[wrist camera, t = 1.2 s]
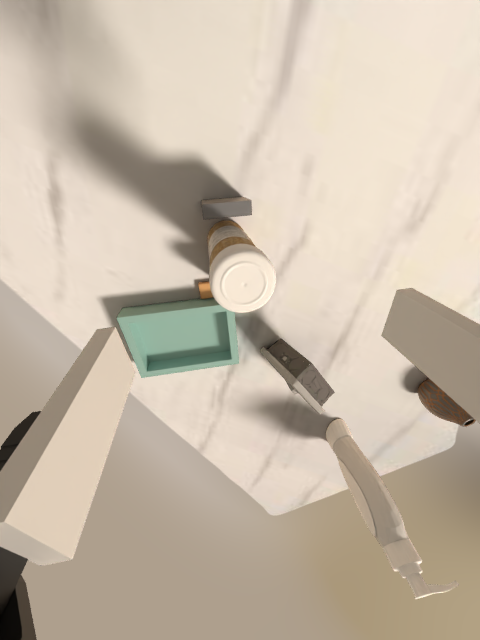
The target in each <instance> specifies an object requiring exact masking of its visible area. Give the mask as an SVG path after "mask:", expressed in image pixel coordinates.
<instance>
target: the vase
mask: <svg viewBox="0 0 480 640" xmlns="http://www.w3.org/2000/svg"><path fill="white" fill-rule="evenodd" d="M418 396H419V399H420V401H421V402H422V404H423V405H424V406H425V407H426V408H427V409H428V410H429V411H430V412H431V413H432V414H434V415H435V416H437V417H439V418H441V419H444V420H447V421H450V422H454V423H457V424H459V425H461V426H463V427H467V426H470V425H472V424H473V423H475V421H476V420H475V419H474V418H473V417H472V416H471V415H470V414H468V413H467V412H466V411H465V410H464V409H463V408H462V407H461V406H460V405H458V404H457V403H456V402H455V401H454V400H453V399H452V398H451V397H449V396H448V395H447V394H446V393H445V392H444V391H443V390H442V389H441V388H439V387H438V386H437V385H436V384H435V383H434V382H433V381H432V380H430V379H428V380H426V381H424V382H423V383H422V384H421V385H420V386H419V388H418Z"/></svg>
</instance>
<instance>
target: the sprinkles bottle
mask: <svg viewBox="0 0 480 640" xmlns="http://www.w3.org/2000/svg"><path fill="white" fill-rule="evenodd" d="M207 243H208V251H209V264H210V270H209V283H210V289H211V292H212V295H213V297H214V298H215V300H216V301H217V303H218V304H220V305H221V306H222V307H223V308H225V309H227V310H229V311H232V312H237V313H245V312H250V311H253V310H256V309H258V308H260V307H261V306H262V305H264V304H265V303H266V302H267V301H268V300H269V298H270V297H271V295H272V294H273V292H274V289H275V285H276V274H275V270H274V267H273V265H272V263H271V262H270V260H269V259H268V258H267V256H266V255H265V254H264V253H263V252H262V251H261V250H260V249H258V248H257V247H256V246H255V245H254V244H253V242H252V241H251V239H250V238H249V237H248V236H247V234H246V233H245V232H244V231H243V229H242V228H241V227H240V226H239V225H238V224H237V223H235V222H232V221H230V220H228V221H220V222H218V223H216V224H215V225H214V226H213V227H212V228H211V229H210V231H209V234H208V237H207Z"/></svg>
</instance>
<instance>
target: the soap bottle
mask: <svg viewBox="0 0 480 640" xmlns="http://www.w3.org/2000/svg"><path fill="white" fill-rule="evenodd" d="M326 438H327V441H328V443H329V445H330V446H331V448H332V450H333V451H334V452H335V454H336V456H337V458H338V461H339V465H340V468H341V471H342V473H343V476H344V478H345V481H346V483H347V485H348V487H349V489H350V492H351V494H352V496H353V498H354V500H355V502H356V505H357V507H358V509H359V511H360V513H361V515H362V517H363V519H364V521H365V523H366V525H367V527H368V529H369V530H370V532H371V533H372V535H373V536H374V537H375V538H376V539H377V541H378V542H379V544H380V545H381V546H382V548H383V550H384V552H385V554H386V556H387V558H388V560H389V562H390V564H391V567H392V568H393V570H394V571H399V572H400V574H401V576H402V578H406V579H407V581H408V583H409V585H410V587H411V589H412V590H413V593H414V595H415V596H416V597H415V599H418V598H422V597H425V596H428V595H431V594H434V593H442V592H447V591H450V590H452V589H453V588H455V587H457V586H458V585H459V584H458V583H457V582H456V581H454V582H452V583H450V584H447V585H431V584H430V585H426V583H425V582H424V580H423V578H422V576H421V575H420V573H421V572H423V571H422V569H421V568H420V566H419V564H420V563H422V560H421V558H420V556H419V555H418V553H417V551H416V549H415V548H414V546H413V544H412V543H411V541H410V540H409V538H408V535H407V533H406V530H405V528H404V523H403V519H402V517H401V515H400V512H399V510H398V508H397V506H396V504H395V502H394V500H393V498H392V496H391V494H390V493H389V491H388V489H387V487H386V486H385V484H384V483H383V481H382V479H381V478H380V476H379V475H378V473H377V472H376V470H375V469H374V467H373V466H372V465H371V463H370V462H369V460H368V459H367V458H366V456H364V454H363V453H362V451H361V450H360V449H359V447H358V446H357V444H356V443H355V441H354V439H353V436H352V434H351V432H350V430H349V428H348V426H347V424H346V423H345V421H344V420H342V419H336V420H334V421H332V422H331V423H330V425H329V427H328V428H327V431H326Z"/></svg>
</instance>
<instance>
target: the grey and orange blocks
mask: <svg viewBox="0 0 480 640" xmlns="http://www.w3.org/2000/svg"><path fill="white" fill-rule="evenodd" d="M201 205H202V212H203V220H204V219H215V218H225V217H236V216H247V215H252V206H251V200H249V199H247V198H245V197H234V198H223V199H211V200H202V202H201ZM198 285H199V290H200V296H201V299H205V298H214V297H213V295H212V292H211V289H210V283H209V282H201V283H199V284H198Z"/></svg>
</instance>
